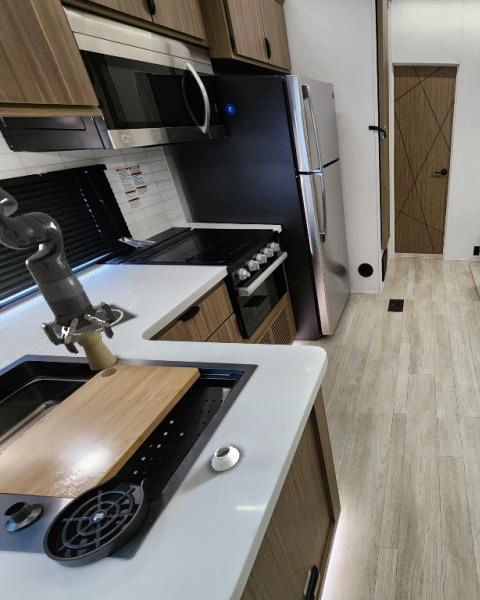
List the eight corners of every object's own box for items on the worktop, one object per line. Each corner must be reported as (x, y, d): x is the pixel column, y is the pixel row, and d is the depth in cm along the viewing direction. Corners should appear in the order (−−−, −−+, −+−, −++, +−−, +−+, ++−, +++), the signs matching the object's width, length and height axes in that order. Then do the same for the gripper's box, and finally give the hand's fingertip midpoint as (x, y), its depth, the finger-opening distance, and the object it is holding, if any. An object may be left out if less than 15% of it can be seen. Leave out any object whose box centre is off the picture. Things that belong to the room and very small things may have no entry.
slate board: (73, 343, 105) (72, 341, 105) (51, 328, 113) (49, 326, 113) (135, 317, 119) (135, 316, 118) (112, 306, 127) (111, 304, 126)
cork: (120, 362, 96) (104, 331, 91) (95, 374, 92) (76, 342, 87) (112, 355, 99) (96, 325, 94) (87, 366, 95) (68, 335, 90)
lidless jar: (217, 477, 65) (243, 460, 68) (213, 467, 64) (239, 451, 67) (209, 460, 68) (234, 445, 71) (205, 451, 67) (230, 436, 70)
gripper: (91, 279, 92) (116, 329, 100) (20, 301, 81) (55, 354, 89) (103, 285, 88) (128, 335, 96) (32, 309, 77) (66, 363, 85)
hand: (93, 344), depth 92 cm, fingers open, 7 cm apart
